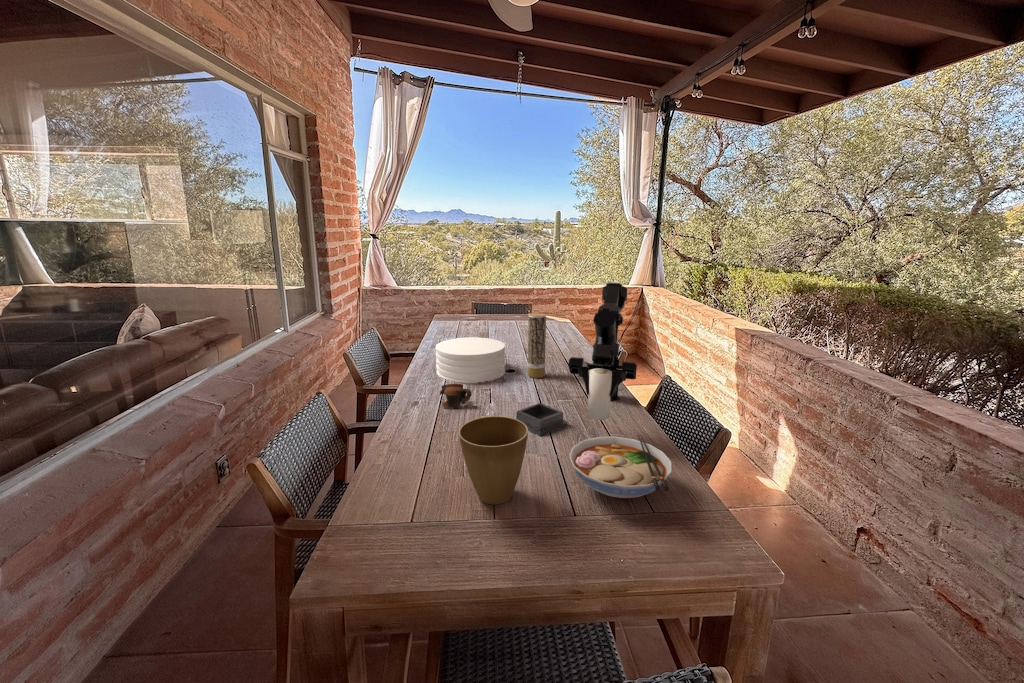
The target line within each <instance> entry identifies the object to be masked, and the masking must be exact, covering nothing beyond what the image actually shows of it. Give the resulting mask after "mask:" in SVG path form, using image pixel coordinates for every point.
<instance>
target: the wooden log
mask: <svg viewBox="0 0 1024 683" xmlns="http://www.w3.org/2000/svg"><path fill="white" fill-rule="evenodd" d="M527 320H528V323H527V324H528V327H527V328H528V330H527V331H528V333H527V335H528V336H527V337H528V339H527V340H528V341H527V375H528V377H530V378H532V379H540V378H543V377H545V375H546V374H545V373H546V338H547V336H546V335H547V333H546V332H547V331H546V329H547V314H546V313H541V312H536V313H535V312H533V313H532V312H531V313H528V318H527Z"/></svg>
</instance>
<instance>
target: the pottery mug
mask: <svg viewBox="0 0 1024 683" xmlns="http://www.w3.org/2000/svg"><path fill="white" fill-rule="evenodd" d="M442 394H443V395H445V398H446V401H442V403H441V404H442V407H445V408H444V409H459V408H458V407H460V408H461V404H462V405H465V404H466V402H468V401H469V400H470V399H471V397H472V391H471V390H470V389H468V388H464V385H463V384H462V383H448V384H443V385H441V389H440V391H439V394H438V395H439V396H441V395H442Z"/></svg>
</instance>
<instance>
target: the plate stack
mask: <svg viewBox="0 0 1024 683" xmlns="http://www.w3.org/2000/svg"><path fill="white" fill-rule="evenodd" d="M505 350H506V344H505V343H504V342H503V341H500V340H497V339H493V338H487V337H474V336H473V337H472V336H471V337H458V338H451V339H447V340H443V341H440V342H439V343H437V344H436V345H435V357H436V358H435V362H436V364H435V365H436V367H435V368H436V376H437V375H438V376H439V377H441V378H443V379H446V380H449V381H455V382H464V383H463V384H479V383H478V382H481V383H486V382H485V381H488V382H491V380H492V381H494V379H495V380H497V378H498V379H500V378H502V377H503V376H504V375H505V374H506V369H505V368H506V356H505V355H506V351H505ZM504 373H505V374H504ZM438 376H437V377H438ZM501 376H502V377H501ZM439 377H438V378H439ZM441 378H440V379H441ZM443 379H442V380H443ZM446 380H445V381H446ZM449 381H448V382H449ZM455 382H454V383H455Z"/></svg>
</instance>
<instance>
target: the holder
mask: <svg viewBox="0 0 1024 683" xmlns="http://www.w3.org/2000/svg"><path fill="white" fill-rule="evenodd" d="M516 419H517V420H519V421H521V422H523V423H524V424H525V425H526V426H527V428H528V432H529V431H530V433H531V432H532V434H534V433H535V434H534V435H536V434H537V435H536V436H538V435H539V436H538V437H542V436H544V435H546V433H547V434H549V433H551V432H554V431H556V430H559V429H561V428H563V427H565V425H566V426H568V424H569V422H568V421H567V420H565V419H564V412H563V411H561V410H559V409H556V408H554V407H551V406H549V405H546V404H543V403H541V402H539V403H536V404H534V405H530V406H527V407H524V408H522V409H519V410H516ZM560 427H561V428H560ZM558 428H559V429H558ZM555 429H556V430H555ZM553 430H554V431H553ZM548 432H549V433H548ZM543 434H544V435H543ZM541 435H542V436H541Z"/></svg>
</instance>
